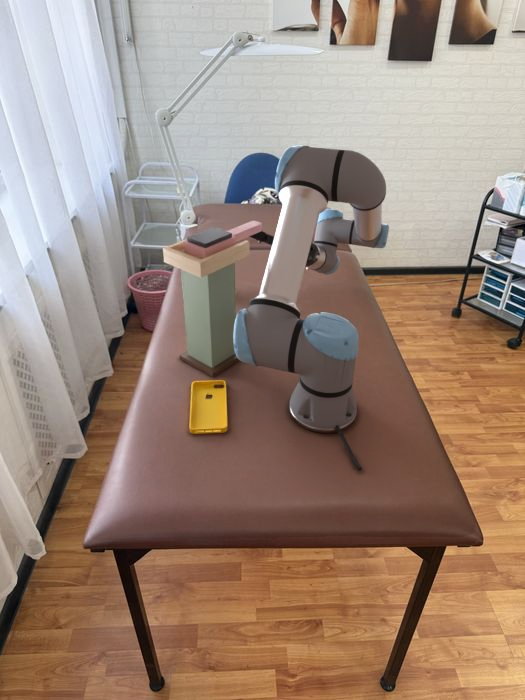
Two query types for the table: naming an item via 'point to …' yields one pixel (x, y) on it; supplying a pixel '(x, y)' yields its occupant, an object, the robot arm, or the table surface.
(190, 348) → the stand
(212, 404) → the phone case
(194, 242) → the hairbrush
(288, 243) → the robot arm
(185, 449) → the table surface
